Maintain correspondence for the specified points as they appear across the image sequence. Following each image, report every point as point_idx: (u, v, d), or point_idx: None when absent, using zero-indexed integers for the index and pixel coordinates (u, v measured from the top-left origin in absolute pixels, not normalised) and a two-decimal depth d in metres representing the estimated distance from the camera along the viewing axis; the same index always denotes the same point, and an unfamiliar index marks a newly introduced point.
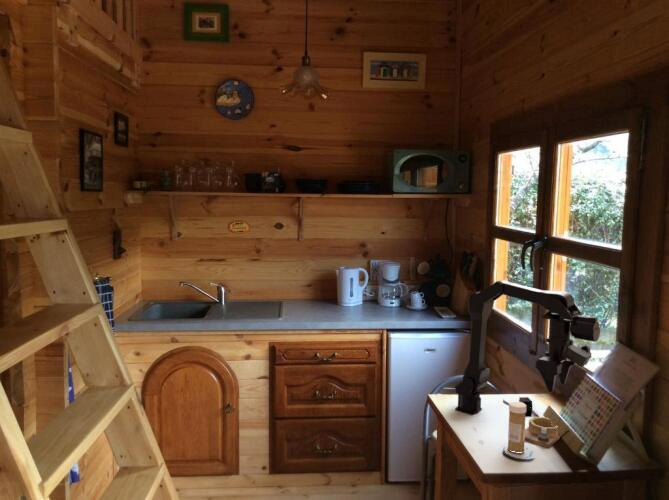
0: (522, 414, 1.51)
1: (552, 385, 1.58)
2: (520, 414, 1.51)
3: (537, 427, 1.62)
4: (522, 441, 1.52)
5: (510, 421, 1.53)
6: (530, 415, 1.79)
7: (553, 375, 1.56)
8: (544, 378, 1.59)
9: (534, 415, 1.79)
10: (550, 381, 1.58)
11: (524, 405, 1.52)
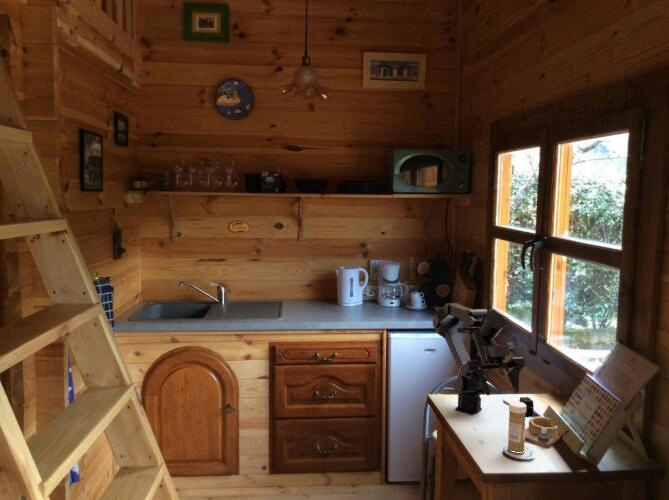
0: (522, 414, 1.51)
1: (484, 386, 1.60)
2: (520, 414, 1.51)
3: (537, 427, 1.62)
4: (522, 441, 1.52)
5: (510, 421, 1.53)
6: (532, 415, 1.79)
7: (478, 375, 1.62)
8: (478, 384, 1.63)
9: (536, 415, 1.79)
10: (482, 384, 1.61)
11: (524, 405, 1.52)
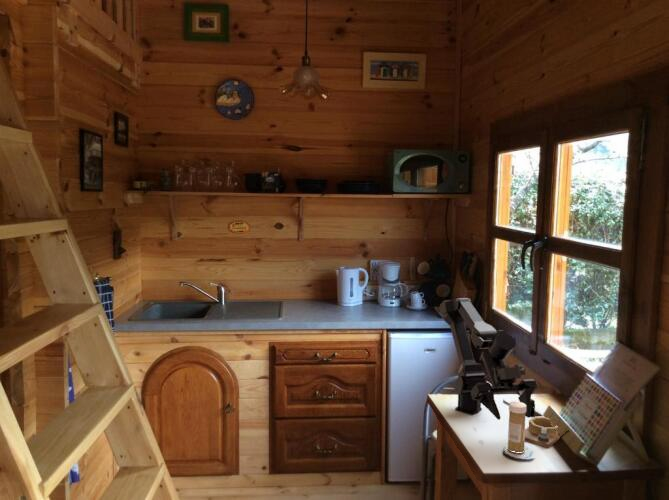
0: (522, 414, 1.51)
1: (495, 410, 1.54)
2: (520, 414, 1.51)
3: (537, 427, 1.62)
4: (522, 441, 1.52)
5: (510, 421, 1.53)
6: (534, 415, 1.79)
7: (488, 398, 1.56)
8: (488, 408, 1.57)
9: (538, 414, 1.79)
10: (492, 407, 1.55)
11: (524, 405, 1.52)
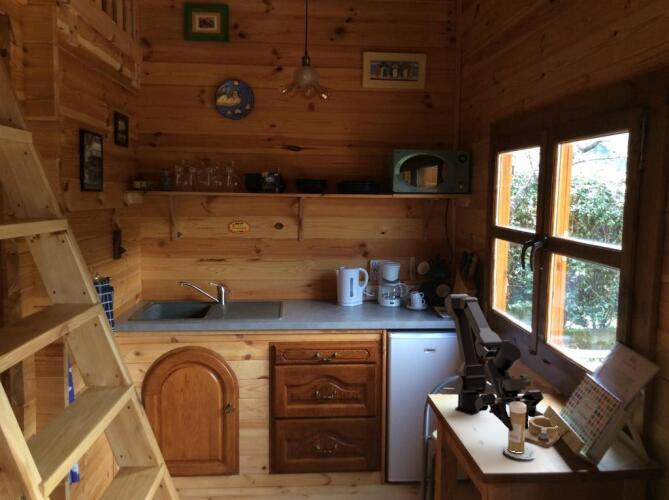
0: (522, 414, 1.51)
1: (507, 421, 1.53)
2: (521, 414, 1.51)
3: (537, 427, 1.62)
4: (522, 441, 1.52)
5: None
6: (536, 414, 1.79)
7: (500, 409, 1.54)
8: (500, 419, 1.55)
9: (540, 414, 1.80)
10: (504, 419, 1.53)
11: (524, 405, 1.52)
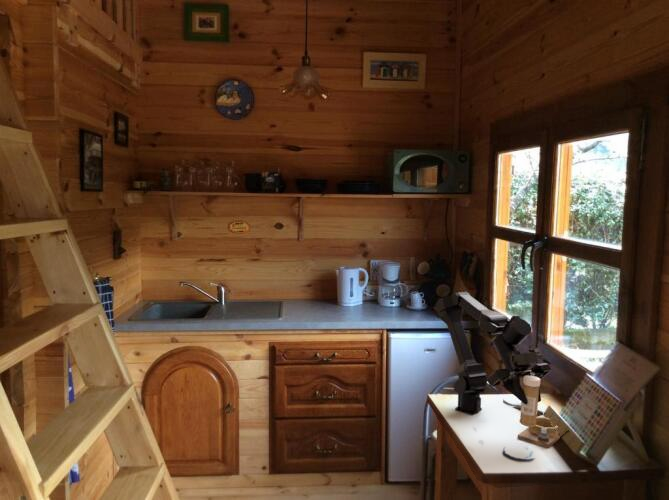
0: (537, 387, 1.53)
1: (522, 395, 1.54)
2: (536, 388, 1.53)
3: (537, 427, 1.62)
4: (535, 414, 1.54)
5: None
6: (539, 413, 1.80)
7: (514, 384, 1.55)
8: (513, 393, 1.56)
9: (542, 413, 1.80)
10: (518, 392, 1.55)
11: (538, 378, 1.54)
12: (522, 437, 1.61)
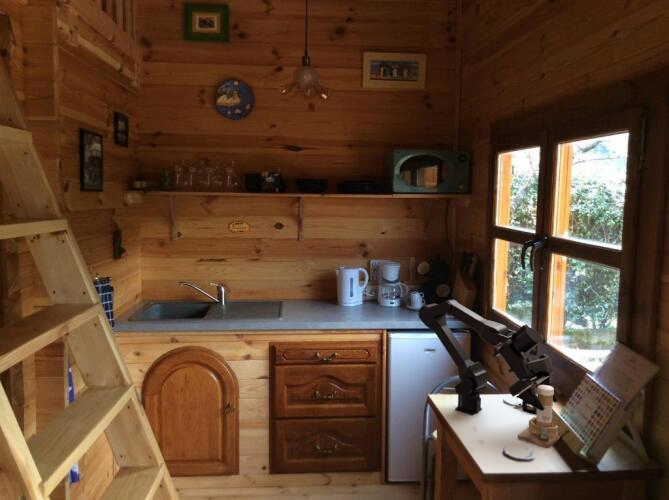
0: (552, 395, 1.62)
1: (538, 402, 1.60)
2: (552, 396, 1.62)
3: (537, 427, 1.62)
4: (551, 420, 1.64)
5: (542, 404, 1.62)
6: None
7: (531, 392, 1.60)
8: (528, 401, 1.61)
9: None
10: (534, 400, 1.60)
11: (551, 387, 1.64)
12: (522, 437, 1.61)
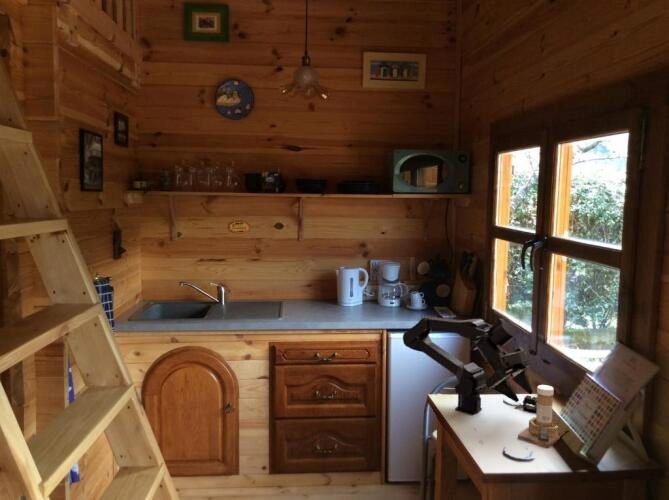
0: (552, 395, 1.62)
1: (513, 394, 1.65)
2: (552, 396, 1.62)
3: (537, 427, 1.62)
4: (551, 420, 1.64)
5: (542, 404, 1.62)
6: None
7: (506, 384, 1.66)
8: (504, 393, 1.67)
9: None
10: (509, 392, 1.66)
11: (551, 387, 1.64)
12: (522, 437, 1.61)
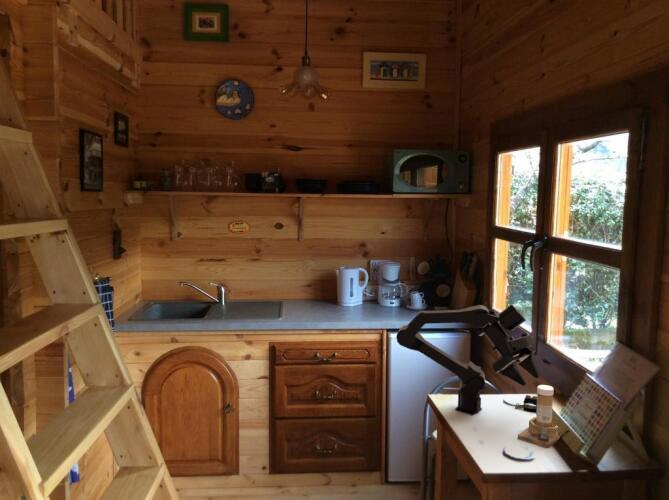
0: (552, 395, 1.62)
1: (520, 378, 1.67)
2: (552, 396, 1.62)
3: (537, 427, 1.62)
4: (551, 420, 1.64)
5: (542, 404, 1.62)
6: None
7: (513, 368, 1.68)
8: (511, 377, 1.69)
9: None
10: (516, 376, 1.68)
11: (551, 387, 1.64)
12: (522, 437, 1.61)
